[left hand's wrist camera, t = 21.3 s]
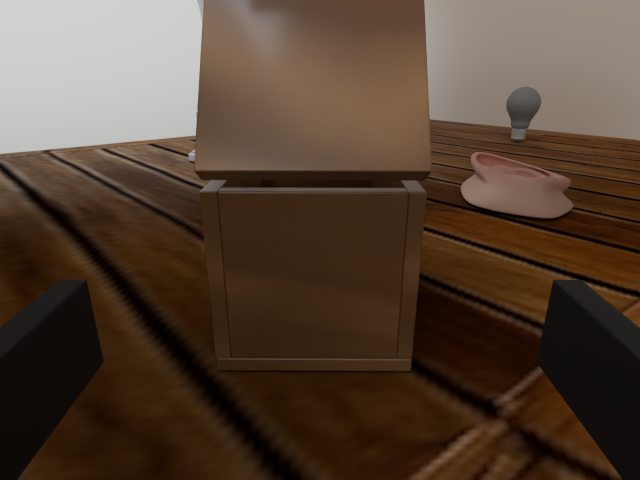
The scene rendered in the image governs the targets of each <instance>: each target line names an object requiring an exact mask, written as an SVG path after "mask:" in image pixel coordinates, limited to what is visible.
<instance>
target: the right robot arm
mask: <svg viewBox="0 0 640 480" xmlns="http://www.w3.org/2000/svg"><path fill="white" fill-rule="evenodd" d="M198 3H199V7H200V12H201V19H202V25H203V7H204V0H198ZM197 111H198V105H197ZM189 161H195V150H193V151H192V152H191V153H189Z"/></svg>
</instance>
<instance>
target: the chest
mask: <svg viewBox="0 0 640 480" xmlns="http://www.w3.org/2000/svg"><path fill="white" fill-rule="evenodd" d="M199 193H200V203H201V213H202V223H203V233H204V243H205V253H206V263H207V273H208V284H209V294H210V304H211V314H212V324H213V334H214V344H215V354H216V362H217V370H219V371H411V363H412V359H411V358H412V352H413V341H414V330H415V318H416V307H417V296H418V285H419V274H420V263H421V251H422V240H423V229H424V218H425V207H426V196H427V193H426V191H425V190H424V189H423V188H422V187H421V185H420V184H419V183H418V182H417V181H368V180H211V181H210V182H209V183H208V184H207V185H206V186H205V187H204V188H203V189H202V190H201V191H200V192H199Z"/></svg>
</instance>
